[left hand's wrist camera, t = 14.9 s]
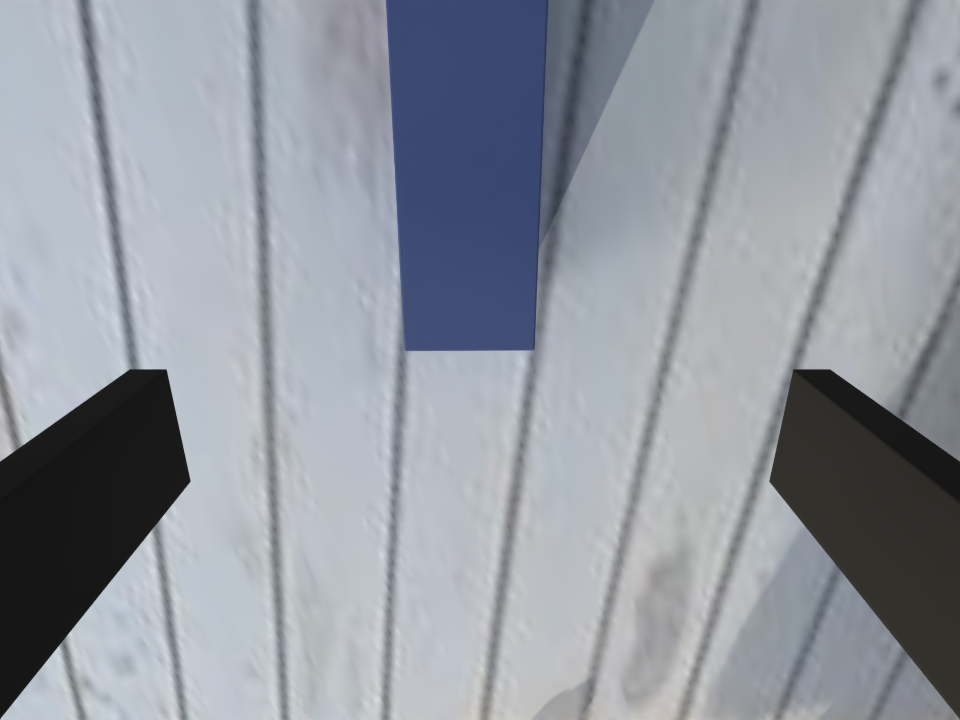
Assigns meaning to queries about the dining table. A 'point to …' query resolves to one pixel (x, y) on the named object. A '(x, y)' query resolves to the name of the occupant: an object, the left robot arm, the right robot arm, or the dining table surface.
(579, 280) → the dining table surface
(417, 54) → the bar
